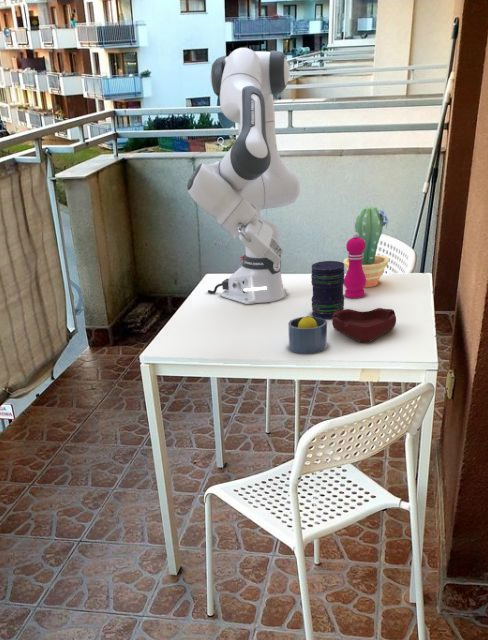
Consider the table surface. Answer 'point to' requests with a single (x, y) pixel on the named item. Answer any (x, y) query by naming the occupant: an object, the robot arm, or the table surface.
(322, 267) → the dark blue barrel
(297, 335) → the cup
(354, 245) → the pepper mill
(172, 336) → the table surface
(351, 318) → the ashtray
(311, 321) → the lemon
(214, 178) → the robot arm
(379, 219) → the potted cactus
